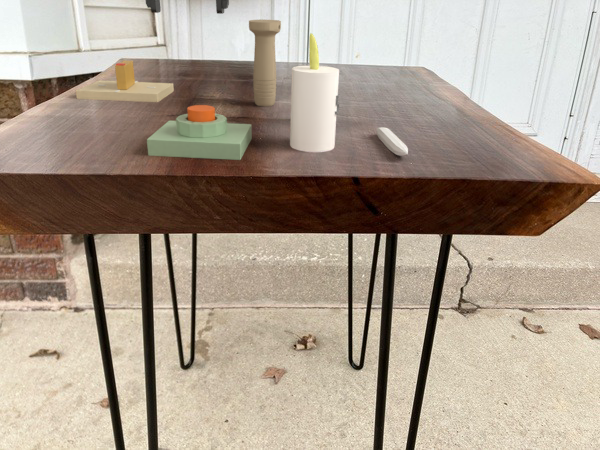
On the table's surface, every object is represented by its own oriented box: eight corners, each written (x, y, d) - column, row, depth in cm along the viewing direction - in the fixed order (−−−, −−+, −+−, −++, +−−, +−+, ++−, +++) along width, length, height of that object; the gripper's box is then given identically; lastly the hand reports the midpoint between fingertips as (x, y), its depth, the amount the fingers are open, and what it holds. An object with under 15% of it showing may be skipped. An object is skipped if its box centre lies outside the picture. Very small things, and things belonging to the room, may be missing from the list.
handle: (245, 116, 89) (243, 21, 82) (257, 108, 94) (257, 19, 88) (272, 119, 88) (273, 23, 81) (283, 111, 93) (284, 20, 87)
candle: (331, 154, 71) (338, 36, 65) (284, 149, 72) (287, 33, 66) (339, 142, 76) (346, 32, 70) (295, 137, 78) (299, 30, 71)
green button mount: (148, 155, 68) (145, 125, 66) (170, 135, 77) (168, 107, 75) (240, 160, 67) (240, 129, 66) (251, 139, 76) (251, 111, 75)
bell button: (184, 123, 69) (184, 110, 68) (191, 117, 72) (191, 104, 72) (212, 124, 69) (211, 111, 68) (217, 118, 72) (217, 105, 72)
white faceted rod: (400, 163, 68) (401, 151, 68) (374, 134, 81) (375, 123, 80) (411, 163, 69) (413, 151, 68) (384, 134, 81) (385, 123, 80)
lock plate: (77, 108, 90) (74, 89, 89) (101, 96, 100) (99, 79, 98) (158, 111, 90) (156, 93, 88) (174, 99, 99) (173, 82, 98)
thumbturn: (126, 83, 96) (123, 59, 94) (135, 83, 96) (132, 59, 94) (117, 89, 91) (114, 64, 89) (126, 89, 91) (124, 64, 89)
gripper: (241, -128, 66) (245, 12, 73) (128, -130, 66) (143, 10, 73) (233, -141, 59) (238, 15, 66) (106, -142, 59) (125, 13, 66)
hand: (188, 12), depth 69 cm, fingers open, 8 cm apart
